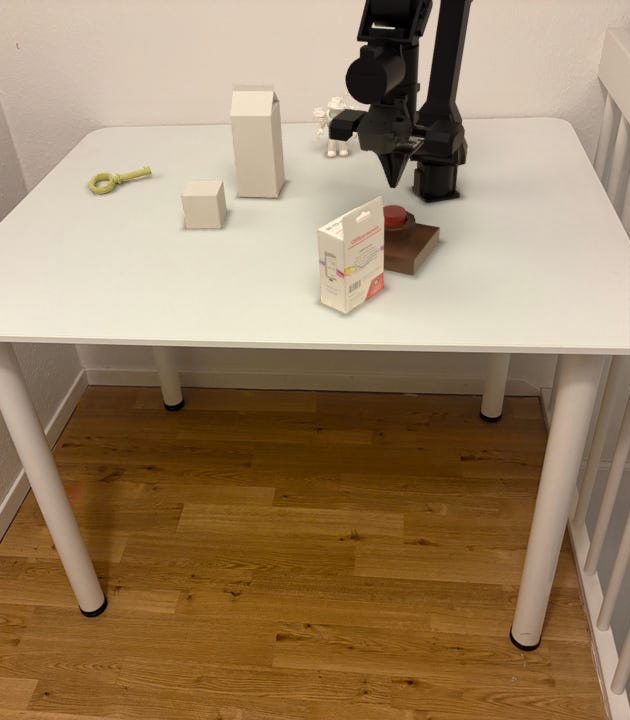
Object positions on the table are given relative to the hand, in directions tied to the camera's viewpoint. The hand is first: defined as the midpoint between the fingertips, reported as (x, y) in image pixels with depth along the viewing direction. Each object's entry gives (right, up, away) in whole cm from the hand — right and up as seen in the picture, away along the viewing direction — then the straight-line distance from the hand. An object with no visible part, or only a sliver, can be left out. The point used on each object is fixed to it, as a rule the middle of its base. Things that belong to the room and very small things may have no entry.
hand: (393, 187), depth 108 cm
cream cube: (-30, -2, +17) cm, 34 cm away
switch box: (0, -9, +5) cm, 10 cm away
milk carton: (-21, +5, +25) cm, 33 cm away
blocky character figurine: (-6, +15, +36) cm, 40 cm away
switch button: (0, -4, +3) cm, 6 cm away
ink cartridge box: (-7, -17, -5) cm, 19 cm away
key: (-48, +8, +31) cm, 58 cm away
